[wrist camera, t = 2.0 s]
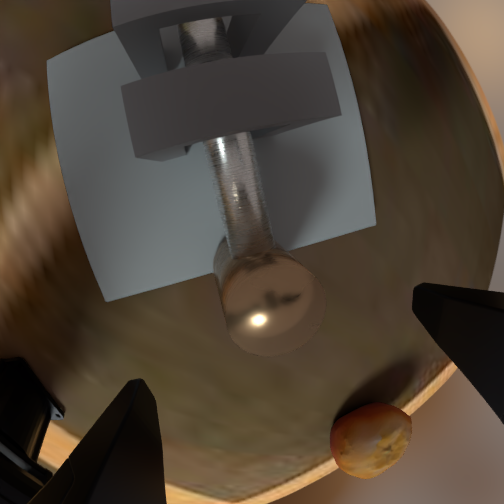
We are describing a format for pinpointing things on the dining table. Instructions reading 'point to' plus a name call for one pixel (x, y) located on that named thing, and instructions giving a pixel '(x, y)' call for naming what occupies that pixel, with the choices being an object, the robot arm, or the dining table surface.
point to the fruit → (370, 439)
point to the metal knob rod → (251, 234)
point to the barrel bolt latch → (204, 135)
